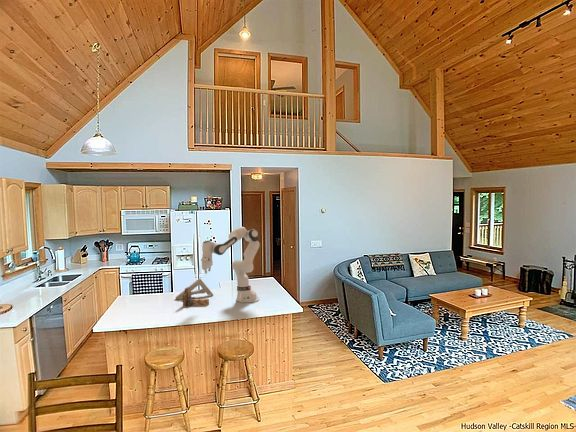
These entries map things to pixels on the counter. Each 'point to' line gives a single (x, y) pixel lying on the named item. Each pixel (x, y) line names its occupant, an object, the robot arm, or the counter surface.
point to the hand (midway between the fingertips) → (207, 272)
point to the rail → (200, 301)
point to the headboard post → (187, 297)
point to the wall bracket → (201, 291)
